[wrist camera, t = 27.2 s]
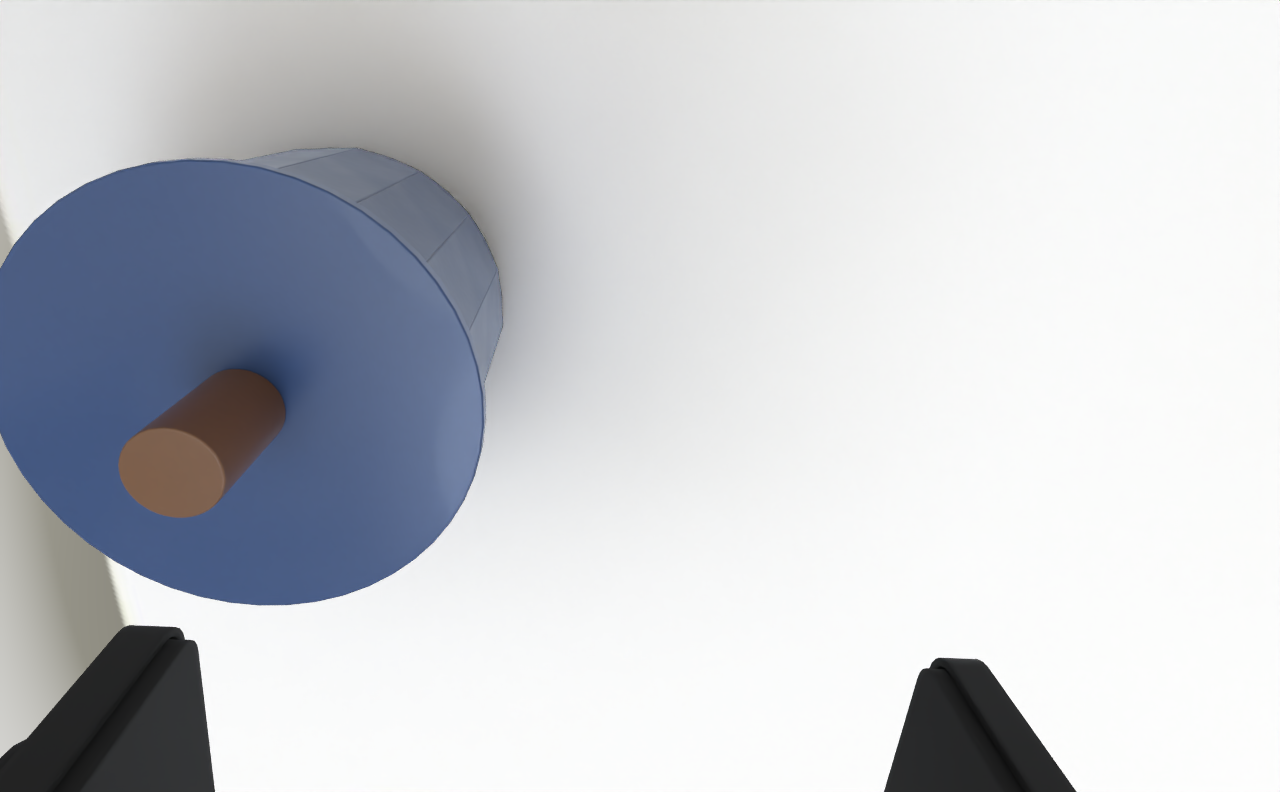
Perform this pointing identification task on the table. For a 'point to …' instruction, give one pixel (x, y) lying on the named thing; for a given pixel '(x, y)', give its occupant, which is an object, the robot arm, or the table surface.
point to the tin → (415, 227)
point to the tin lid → (237, 381)
